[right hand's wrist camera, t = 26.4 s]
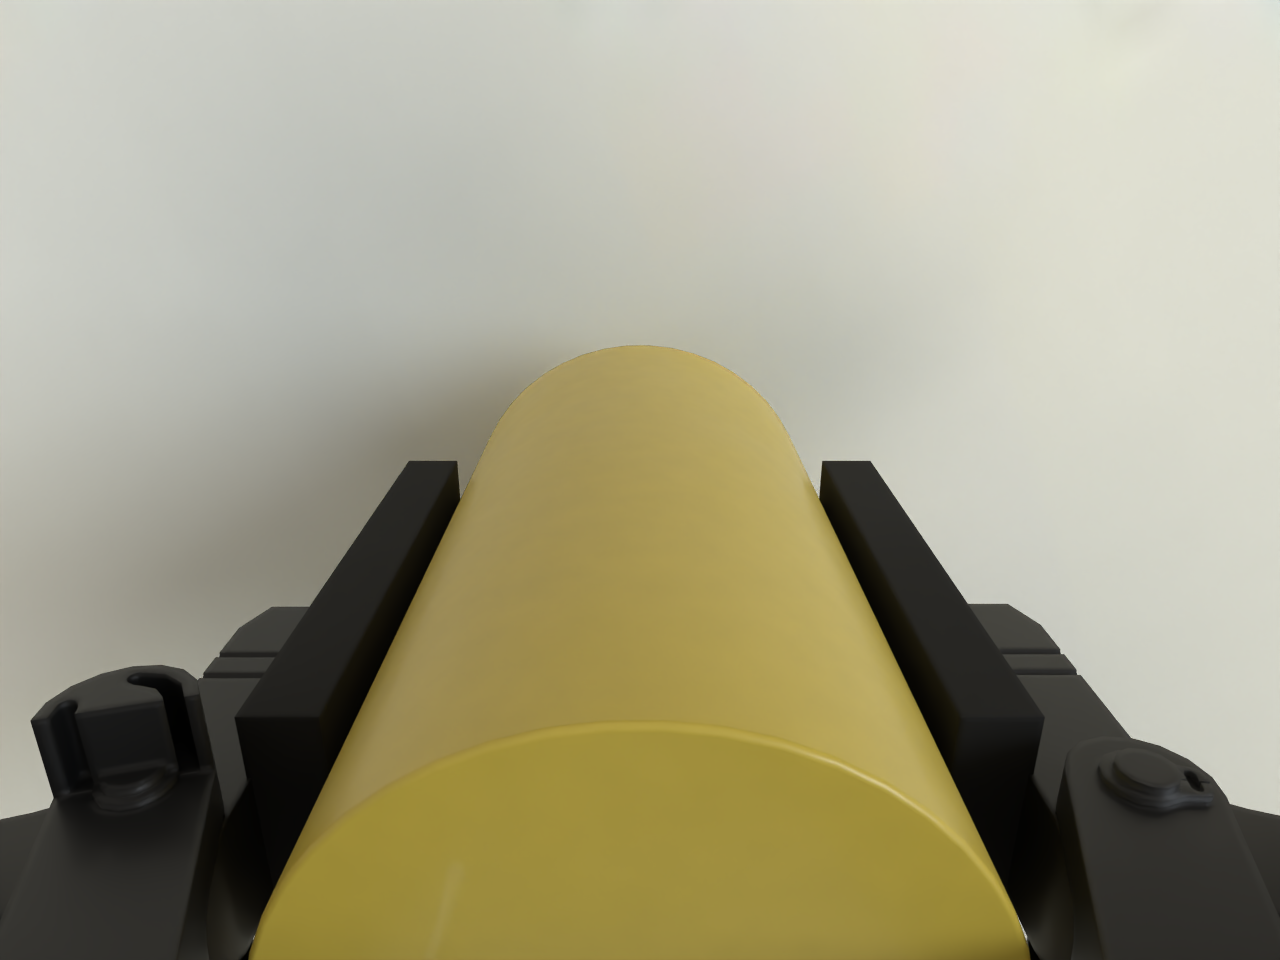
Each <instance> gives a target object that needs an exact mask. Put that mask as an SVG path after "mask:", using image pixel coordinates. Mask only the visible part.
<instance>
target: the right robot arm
mask: <svg viewBox="0 0 1280 960" xmlns="http://www.w3.org/2000/svg"><path fill="white" fill-rule="evenodd" d="M819 500H820V502H821V504H822V506H823V508H824V510H825V512H826V515H827V517H828V519H829V521H830V523H831V525H832V527H833V529H834V531H835V533H836V536H837V538H838V540H839V542H840V544H841V546H842V548H843V550H844V552H845V554H846V557H847V559H848V561H849V563H850V565H851V567H852V569H853V571H854V573H855V575H856V577H857V580H858V582H859V584H860V586H861V588H862V590H863V592H864V594H865V596H866V598H867V601H868V603H869V605H870V607H871V609H872V611H873V613H874V615H875V617H876V619H877V622H878V624H879V626H880V628H881V630H882V632H883V634H884V636H885V638H886V640H887V643H888V645H889V647H890V649H891V651H892V653H893V655H894V657H895V659H896V661H897V664H898V666H899V668H900V670H901V672H902V674H903V676H904V678H905V680H906V682H907V684H908V687H909V689H910V691H911V693H912V695H913V697H914V699H915V701H916V703H917V705H918V708H919V710H920V712H921V714H922V716H923V718H924V720H925V722H926V724H927V726H928V729H929V731H930V733H931V735H932V737H933V739H934V741H935V743H936V745H937V747H938V750H939V752H940V754H941V756H942V758H943V760H944V762H945V764H946V766H947V768H948V771H949V773H950V775H951V777H952V779H953V781H954V783H955V785H956V787H957V789H958V791H959V794H960V796H961V798H962V800H963V802H964V804H965V806H966V808H967V810H968V812H969V815H970V817H971V819H972V821H973V823H974V825H975V827H976V829H977V831H978V833H979V836H980V838H981V840H982V842H983V844H984V846H985V848H986V850H987V852H988V854H989V857H990V859H991V861H992V863H993V865H994V867H995V869H996V871H997V873H998V875H999V877H1000V880H1001V882H1002V884H1003V886H1004V888H1005V890H1006V892H1007V894H1008V896H1009V898H1010V901H1011V903H1012V905H1013V907H1014V909H1015V911H1016V913H1017V916H1018V918H1019V920H1020V922H1021V924H1022V926H1023V928H1024V930H1025V932H1026V934H1027V941H1026V942H1027V945H1028V947H1029V953H1030V959H1031V960H1280V816H1279V815H1274V814H1269V813H1264V812H1260V811H1255V810H1250V809H1246V808H1242V807H1239V806H1235V805H1231V804H1229V801H1228V799H1227V797H1226V796H1225V794H1224V793H1223V791H1222V790H1221V789H1220V787H1219V786H1218V785H1217V783H1216V782H1215V781H1214V779H1213V778H1212V777H1211V776H1210V775H1208V774H1207V773H1206V772H1204V771H1203V770H1202V769H1200V768H1199V767H1198V766H1196V765H1195V764H1194V763H1193V762H1191V761H1190V760H1189V759H1186V758H1184V757H1182V756H1180V755H1178V754H1176V753H1174V752H1172V751H1170V750H1167V749H1165V748H1163V747H1161V746H1158V745H1155V744H1151V743H1147V742H1143V741H1140V740H1136V739H1132V738H1131V737H1130V736H1129V735H1128V734H1127V732H1126V731H1125V730H1124V729H1123V727H1122V726H1121V725H1120V724H1119V722H1118V721H1117V720H1116V719H1115V717H1114V716H1113V715H1112V714H1111V712H1110V711H1109V710H1108V709H1107V707H1106V706H1105V705H1104V704H1103V702H1102V701H1101V700H1100V699H1099V697H1098V696H1097V695H1096V694H1095V692H1094V691H1093V690H1092V689H1091V687H1090V686H1089V685H1088V684H1087V682H1086V681H1085V680H1084V679H1083V677H1082V676H1081V675H1077V673H1076V669H1075V667H1074V666H1073V665H1072V664H1071V662H1070V661H1069V660H1068V659H1067V657H1066V656H1065V655H1064V654H1060V649H1059V647H1058V646H1057V645H1056V644H1055V642H1054V641H1053V640H1052V639H1051V637H1050V636H1049V635H1048V634H1047V632H1046V631H1045V630H1044V629H1043V627H1042V626H1041V625H1040V624H1038V623H1037V622H1035V621H1034V620H1032V619H1030V618H1029V617H1027V616H1026V615H1024V614H1023V613H1021V612H1019V611H1018V610H1016V609H1015V608H1013V607H1012V606H1010V605H1009V604H968V603H967V602H966V601H965V599H964V598H963V596H962V595H961V593H960V592H959V590H958V589H957V587H956V586H955V584H954V583H953V581H952V580H951V579H950V577H949V576H948V574H947V573H946V571H945V570H944V568H943V567H942V565H941V564H940V562H939V561H938V559H937V558H936V557H935V555H934V554H933V552H932V551H931V549H930V548H929V546H928V545H927V543H926V542H925V540H924V539H923V537H922V536H921V535H920V533H919V532H918V530H917V529H916V527H915V526H914V524H913V523H912V521H911V520H910V518H909V517H908V515H907V514H906V513H905V511H904V510H903V508H902V507H901V505H900V504H899V502H898V501H897V499H896V498H895V496H894V495H893V494H892V492H891V491H890V489H889V488H888V486H887V485H886V483H885V482H884V480H883V479H882V477H881V476H880V474H879V473H878V472H877V470H876V469H875V467H874V466H873V464H872V463H871V461H822V472H821V484H820V496H819ZM459 502H460V491H459V479H458V467H457V461H409V462H408V463H407V465H406V466H405V468H404V469H403V471H402V472H401V474H400V475H399V476H398V478H397V479H396V481H395V482H394V484H393V485H392V487H391V488H390V490H389V491H388V493H387V494H386V496H385V497H384V498H383V500H382V501H381V503H380V504H379V506H378V507H377V509H376V510H375V512H374V513H373V515H372V516H371V518H370V519H369V520H368V522H367V523H366V525H365V526H364V528H363V529H362V531H361V532H360V534H359V535H358V537H357V538H356V540H355V541H354V542H353V544H352V545H351V547H350V548H349V550H348V551H347V553H346V554H345V556H344V557H343V559H342V560H341V562H340V563H339V564H338V566H337V567H336V569H335V570H334V572H333V573H332V575H331V576H330V578H329V579H328V581H327V582H326V583H325V585H324V586H323V588H322V589H321V591H320V592H319V594H318V595H317V597H316V598H315V600H314V601H313V603H312V604H311V605H310V607H271V608H270V609H268V610H266V611H265V612H263V613H262V614H260V615H259V616H257V617H256V618H254V619H252V620H251V621H249V622H248V623H246V624H245V625H243V626H242V627H240V628H239V629H238V630H237V631H236V633H235V634H234V635H233V636H232V638H231V639H230V640H229V641H228V643H227V644H226V645H225V647H224V648H223V649H222V650H221V652H220V657H216V658H215V659H214V660H213V662H212V663H211V664H210V665H209V667H208V668H207V669H206V671H205V672H204V676H203V678H199V679H198V681H197V679H196V678H194V677H193V676H192V675H190V674H189V673H188V672H186V671H185V670H184V669H179V668H174V667H169V666H164V665H152V666H133V667H128V668H124V669H120V670H116V671H111V672H107V673H103V674H100V675H97V676H95V677H93V678H90V679H88V680H85V681H83V682H80V683H78V684H76V685H73V686H71V687H69V688H68V689H66V690H65V691H63V692H62V693H60V694H59V695H57V696H56V697H54V698H52V699H51V700H49V701H48V702H46V703H45V704H44V706H43V707H42V708H41V709H40V710H39V711H38V713H37V714H36V715H35V716H34V717H33V718H32V720H31V724H32V728H33V731H34V734H35V738H36V741H37V744H38V747H39V751H40V754H41V757H42V761H43V764H44V767H45V770H46V774H47V777H48V780H49V784H50V787H51V790H52V794H53V797H54V799H53V801H52V803H51V805H50V808H48V809H44V810H41V811H37V812H33V813H29V814H24V815H20V816H15V817H10V818H6V819H1V820H0V960H248V959H249V952H250V949H251V946H252V943H253V938H254V936H255V934H256V931H257V928H258V925H259V922H260V919H261V916H262V914H263V912H264V910H265V908H266V905H267V903H268V901H269V899H270V897H271V895H272V893H273V891H274V889H275V887H276V885H277V882H278V880H279V878H280V876H281V874H282V872H283V870H284V868H285V866H286V864H287V861H288V859H289V857H290V855H291V853H292V851H293V849H294V847H295V845H296V843H297V841H298V838H299V836H300V834H301V832H302V830H303V828H304V826H305V824H306V822H307V820H308V818H309V815H310V813H311V811H312V809H313V807H314V805H315V803H316V801H317V799H318V797H319V795H320V792H321V790H322V788H323V786H324V784H325V782H326V780H327V778H328V776H329V774H330V772H331V769H332V767H333V765H334V763H335V761H336V759H337V757H338V755H339V753H340V751H341V749H342V746H343V744H344V742H345V740H346V738H347V736H348V734H349V732H350V730H351V728H352V726H353V723H354V721H355V719H356V717H357V715H358V713H359V711H360V709H361V707H362V705H363V703H364V700H365V698H366V696H367V694H368V692H369V690H370V688H371V686H372V684H373V682H374V679H375V677H376V675H377V673H378V671H379V669H380V667H381V665H382V663H383V661H384V659H385V656H386V654H387V652H388V650H389V648H390V646H391V644H392V642H393V640H394V638H395V636H396V633H397V631H398V629H399V627H400V625H401V623H402V621H403V619H404V617H405V615H406V613H407V610H408V608H409V606H410V604H411V602H412V600H413V598H414V596H415V594H416V592H417V590H418V587H419V585H420V583H421V581H422V579H423V577H424V575H425V573H426V571H427V569H428V567H429V564H430V562H431V560H432V558H433V556H434V554H435V552H436V550H437V548H438V546H439V544H440V541H441V539H442V537H443V535H444V533H445V531H446V529H447V527H448V525H449V523H450V520H451V518H452V516H453V514H454V512H455V510H456V508H457V506H458V504H459Z"/></svg>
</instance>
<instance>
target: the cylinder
mask: <svg viewBox="0 0 1280 960" xmlns="http://www.w3.org/2000/svg"><path fill="white" fill-rule="evenodd" d="M248 960H1031V959H1030V953H1029V947H1028V945H1027V942H1026V939H1025V936H1024V933H1023V931H1022V928H1021V925H1020V922H1019V919H1018V917H1017V914H1016V911H1015V909H1014V907H1013V905H1012V903H1011V901H1010V898H1009V896H1008V894H1007V892H1006V890H1005V888H1004V886H1003V884H1002V882H1001V880H1000V877H999V875H998V873H997V871H996V869H995V867H994V865H993V863H992V861H991V859H990V857H989V854H988V852H987V850H986V848H985V846H984V844H983V842H982V840H981V838H980V836H979V833H978V831H977V829H976V827H975V825H974V823H973V821H972V819H971V817H970V815H969V812H968V810H967V808H966V806H965V804H964V802H963V800H962V798H961V796H960V794H959V791H958V789H957V787H956V785H955V783H954V781H953V779H952V777H951V775H950V773H949V771H948V768H947V766H946V764H945V762H944V760H943V758H942V756H941V754H940V752H939V750H938V747H937V745H936V743H935V741H934V739H933V737H932V735H931V733H930V731H929V729H928V726H927V724H926V722H925V720H924V718H923V716H922V714H921V712H920V710H919V708H918V705H917V703H916V701H915V699H914V697H913V695H912V693H911V691H910V689H909V687H908V684H907V682H906V680H905V678H904V676H903V674H902V672H901V670H900V668H899V666H898V664H897V661H896V659H895V657H894V655H893V653H892V651H891V649H890V647H889V645H888V643H887V640H886V638H885V636H884V634H883V632H882V630H881V628H880V626H879V624H878V622H877V619H876V617H875V615H874V613H873V611H872V609H871V607H870V605H869V603H868V601H867V598H866V596H865V594H864V592H863V590H862V588H861V586H860V584H859V582H858V580H857V577H856V575H855V573H854V571H853V569H852V567H851V565H850V563H849V561H848V559H847V557H846V554H845V552H844V550H843V548H842V546H841V544H840V542H839V540H838V538H837V536H836V533H835V531H834V529H833V527H832V525H831V523H830V521H829V519H828V517H827V515H826V512H825V510H824V508H823V506H822V504H821V502H820V500H819V498H818V496H817V494H816V491H815V489H814V487H813V485H812V483H811V481H810V479H809V477H808V475H807V473H806V471H805V468H804V466H803V464H802V462H801V460H800V458H799V456H798V454H797V452H796V450H795V447H794V445H793V443H792V441H791V439H790V437H789V435H788V433H787V431H786V430H785V428H784V426H783V424H782V422H781V421H780V419H779V417H778V416H777V415H776V413H775V412H774V411H773V409H772V408H771V407H770V405H769V404H768V403H767V401H766V400H765V399H764V398H763V397H762V396H761V395H760V394H759V393H758V392H757V391H756V390H755V389H754V388H753V387H752V386H751V385H749V384H748V383H747V382H745V381H744V380H743V379H741V378H740V377H739V376H737V375H736V374H735V373H733V372H731V371H730V370H728V369H726V368H724V367H723V366H721V365H719V364H717V363H715V362H713V361H711V360H708V359H706V358H703V357H701V356H698V355H696V354H693V353H689V352H685V351H681V350H677V349H673V348H666V347H658V346H621V347H614V348H607V349H602V350H599V351H595V352H591V353H588V354H584V355H581V356H579V357H576V358H574V359H572V360H569V361H567V362H565V363H562V364H561V365H559V366H557V367H555V368H554V369H552V370H550V371H549V372H547V373H545V374H544V375H542V376H541V377H540V378H538V379H537V380H536V381H535V382H533V383H532V384H531V385H530V386H528V387H527V388H526V389H525V390H524V391H523V392H522V393H521V394H520V395H519V396H518V397H517V398H516V399H515V400H514V401H513V402H512V404H511V405H510V406H509V408H508V409H507V410H506V412H505V413H504V415H503V416H502V417H501V419H500V420H499V422H498V424H497V426H496V428H495V429H494V431H493V433H492V435H491V437H490V439H489V441H488V443H487V445H486V447H485V449H484V451H483V454H482V456H481V458H480V460H479V462H478V464H477V466H476V468H475V470H474V472H473V474H472V477H471V479H470V481H469V483H468V485H467V487H466V489H465V491H464V493H463V495H462V497H461V500H460V502H459V504H458V506H457V508H456V510H455V512H454V514H453V516H452V518H451V520H450V523H449V525H448V527H447V529H446V531H445V533H444V535H443V537H442V539H441V541H440V544H439V546H438V548H437V550H436V552H435V554H434V556H433V558H432V560H431V562H430V564H429V567H428V569H427V571H426V573H425V575H424V577H423V579H422V581H421V583H420V585H419V587H418V590H417V592H416V594H415V596H414V598H413V600H412V602H411V604H410V606H409V608H408V610H407V613H406V615H405V617H404V619H403V621H402V623H401V625H400V627H399V629H398V631H397V633H396V636H395V638H394V640H393V642H392V644H391V646H390V648H389V650H388V652H387V654H386V656H385V659H384V661H383V663H382V665H381V667H380V669H379V671H378V673H377V675H376V677H375V679H374V682H373V684H372V686H371V688H370V690H369V692H368V694H367V696H366V698H365V700H364V703H363V705H362V707H361V709H360V711H359V713H358V715H357V717H356V719H355V721H354V723H353V726H352V728H351V730H350V732H349V734H348V736H347V738H346V740H345V742H344V744H343V746H342V749H341V751H340V753H339V755H338V757H337V759H336V761H335V763H334V765H333V767H332V769H331V772H330V774H329V776H328V778H327V780H326V782H325V784H324V786H323V788H322V790H321V792H320V795H319V797H318V799H317V801H316V803H315V805H314V807H313V809H312V811H311V813H310V815H309V818H308V820H307V822H306V824H305V826H304V828H303V830H302V832H301V834H300V836H299V838H298V841H297V843H296V845H295V847H294V849H293V851H292V853H291V855H290V857H289V859H288V861H287V864H286V866H285V868H284V870H283V872H282V874H281V876H280V878H279V880H278V882H277V885H276V887H275V889H274V891H273V893H272V895H271V897H270V899H269V901H268V903H267V905H266V908H265V910H264V912H263V914H262V916H261V919H260V922H259V925H258V928H257V931H256V934H255V937H254V940H253V943H252V946H251V949H250V952H249V959H248Z"/></svg>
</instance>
